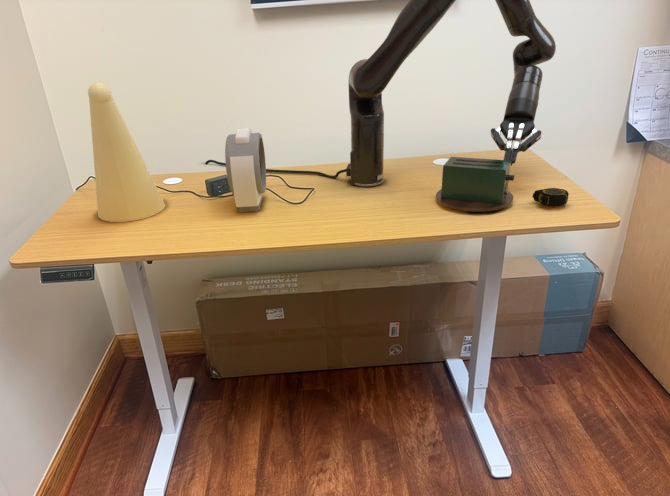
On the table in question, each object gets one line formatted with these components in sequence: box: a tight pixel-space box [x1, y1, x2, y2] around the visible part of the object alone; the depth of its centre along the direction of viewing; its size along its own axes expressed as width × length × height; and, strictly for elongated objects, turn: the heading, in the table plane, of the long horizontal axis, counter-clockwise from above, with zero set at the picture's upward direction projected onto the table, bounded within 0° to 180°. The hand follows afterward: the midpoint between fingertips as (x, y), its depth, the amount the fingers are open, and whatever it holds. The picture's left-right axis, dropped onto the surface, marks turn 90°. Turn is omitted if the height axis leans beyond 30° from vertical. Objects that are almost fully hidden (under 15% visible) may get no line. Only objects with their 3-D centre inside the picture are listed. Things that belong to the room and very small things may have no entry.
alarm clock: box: [224, 127, 267, 213], centre depth 141 cm, size 18×8×20 cm, turn 179°
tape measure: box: [532, 187, 569, 208], centre depth 131 cm, size 7×7×4 cm
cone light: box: [87, 81, 166, 223], centre depth 137 cm, size 25×18×35 cm
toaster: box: [435, 156, 516, 213], centre depth 135 cm, size 19×19×9 cm
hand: (508, 164), depth 136 cm, fingers closed
